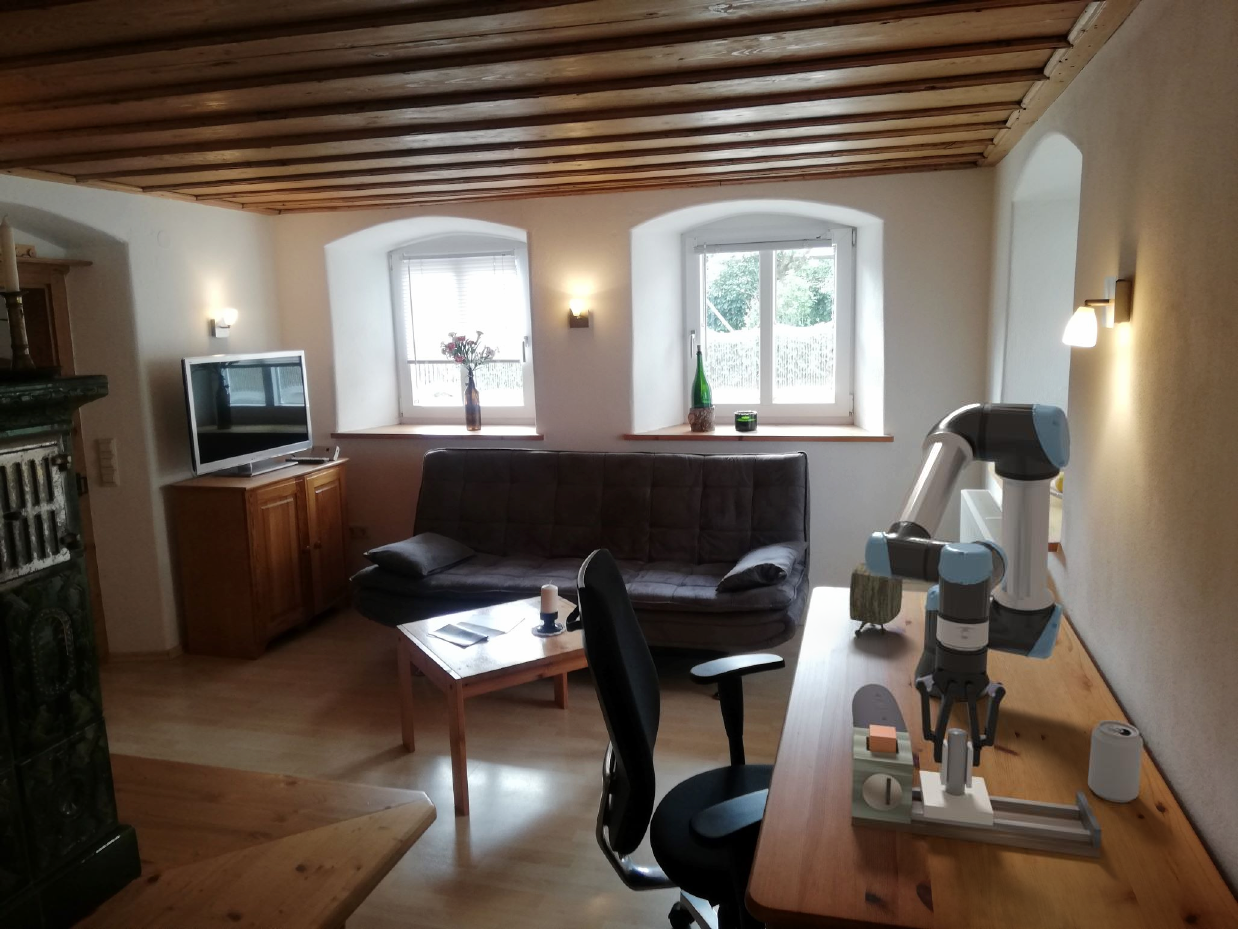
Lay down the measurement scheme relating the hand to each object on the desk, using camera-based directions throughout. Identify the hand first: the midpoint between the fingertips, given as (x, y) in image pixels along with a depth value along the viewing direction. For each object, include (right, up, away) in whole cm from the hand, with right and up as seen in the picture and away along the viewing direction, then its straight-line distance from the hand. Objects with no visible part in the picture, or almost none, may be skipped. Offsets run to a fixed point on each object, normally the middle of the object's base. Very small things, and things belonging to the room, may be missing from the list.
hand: (955, 782), depth 140 cm
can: (+30, -5, +9) cm, 32 cm away
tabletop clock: (+13, +7, +87) cm, 88 cm away
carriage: (0, -3, +1) cm, 4 cm away
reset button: (-11, +5, +2) cm, 12 cm away
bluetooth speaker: (-6, -3, +22) cm, 23 cm away
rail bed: (+2, -7, +1) cm, 7 cm away
